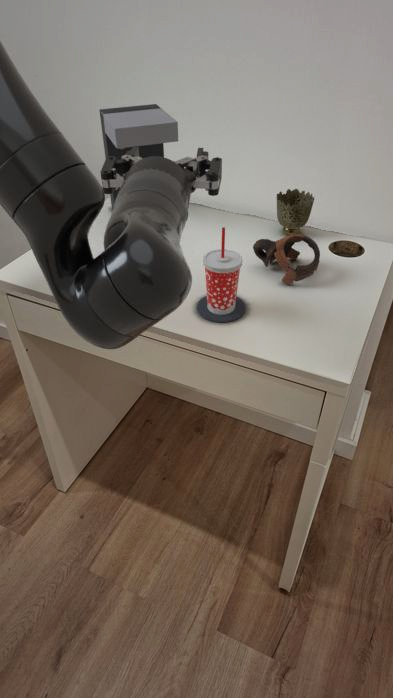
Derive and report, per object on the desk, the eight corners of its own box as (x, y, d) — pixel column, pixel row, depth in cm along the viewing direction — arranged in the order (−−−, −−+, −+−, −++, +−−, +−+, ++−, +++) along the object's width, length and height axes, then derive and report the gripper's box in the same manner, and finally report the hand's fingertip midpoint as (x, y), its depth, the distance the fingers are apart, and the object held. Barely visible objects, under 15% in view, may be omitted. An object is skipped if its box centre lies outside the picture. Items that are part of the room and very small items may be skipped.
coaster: (192, 319, 77) (192, 317, 77) (203, 292, 83) (203, 290, 83) (241, 325, 76) (241, 323, 76) (248, 298, 82) (248, 296, 82)
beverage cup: (206, 294, 82) (207, 217, 73) (242, 298, 81) (247, 220, 72) (199, 315, 78) (198, 235, 69) (236, 319, 76) (241, 239, 68)
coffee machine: (181, 226, 103) (177, 121, 90) (126, 235, 100) (114, 128, 87) (161, 200, 114) (156, 103, 100) (111, 208, 111) (99, 109, 97)
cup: (287, 244, 97) (291, 206, 91) (265, 230, 101) (269, 193, 96) (316, 235, 99) (322, 198, 94) (294, 222, 104) (298, 186, 99)
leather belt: (310, 260, 92) (328, 236, 85) (303, 302, 89) (320, 281, 81) (251, 242, 92) (263, 216, 84) (241, 283, 88) (253, 260, 81)
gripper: (220, 170, 48) (223, 125, 61) (81, 169, 49) (111, 124, 61) (219, 239, 53) (221, 183, 65) (91, 236, 54) (118, 182, 66)
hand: (168, 154), depth 63 cm, fingers open, 8 cm apart
